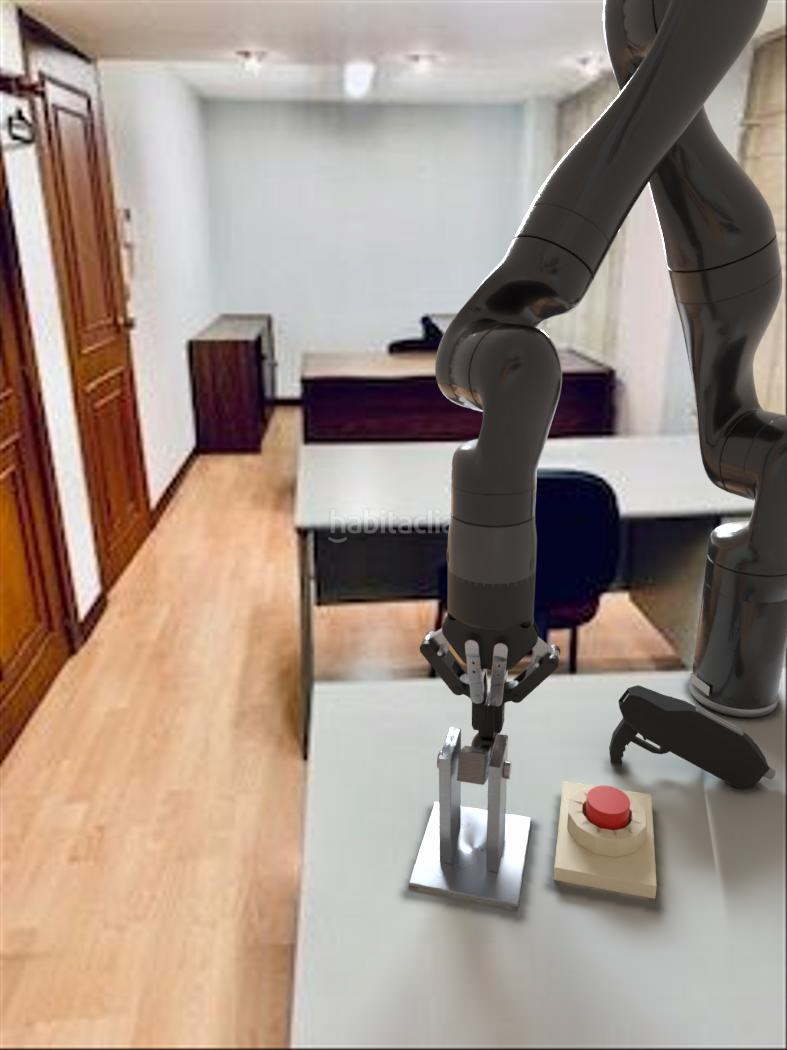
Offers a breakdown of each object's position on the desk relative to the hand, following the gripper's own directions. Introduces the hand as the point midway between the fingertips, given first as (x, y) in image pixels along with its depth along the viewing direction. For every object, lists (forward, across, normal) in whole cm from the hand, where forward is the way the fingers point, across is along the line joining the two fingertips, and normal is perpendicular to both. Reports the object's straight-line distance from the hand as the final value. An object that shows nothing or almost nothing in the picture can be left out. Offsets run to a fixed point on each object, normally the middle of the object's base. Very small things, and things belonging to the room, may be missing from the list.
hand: (487, 732), depth 71 cm
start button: (+4, -11, +4) cm, 12 cm away
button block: (+8, -11, +4) cm, 14 cm away
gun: (+8, -19, -8) cm, 22 cm away
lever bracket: (+8, 0, +8) cm, 11 cm away
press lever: (+1, 0, +5) cm, 5 cm away
